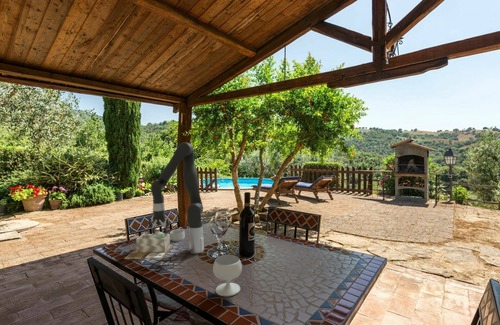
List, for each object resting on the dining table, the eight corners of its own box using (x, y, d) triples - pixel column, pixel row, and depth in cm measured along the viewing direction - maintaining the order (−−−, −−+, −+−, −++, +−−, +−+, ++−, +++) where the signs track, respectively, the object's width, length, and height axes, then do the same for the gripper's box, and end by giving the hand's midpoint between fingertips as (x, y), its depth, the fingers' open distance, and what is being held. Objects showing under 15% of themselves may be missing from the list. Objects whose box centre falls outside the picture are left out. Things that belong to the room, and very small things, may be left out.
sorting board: (174, 247, 179) (174, 233, 178) (162, 261, 156) (161, 244, 155) (140, 247, 180) (140, 233, 179) (123, 261, 157) (122, 245, 156)
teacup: (182, 243, 187) (182, 232, 186) (168, 243, 187) (167, 233, 187) (187, 237, 201) (187, 227, 200) (174, 237, 201) (173, 227, 201)
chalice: (207, 290, 121) (207, 260, 121) (229, 279, 131) (229, 251, 130) (225, 302, 111) (225, 269, 111) (248, 289, 121) (247, 259, 120)
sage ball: (165, 239, 175) (165, 230, 174) (162, 242, 169) (162, 233, 168) (157, 239, 175) (157, 230, 175) (153, 242, 169) (153, 233, 169)
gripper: (171, 208, 174) (171, 231, 175) (150, 208, 175) (151, 231, 176) (167, 210, 167) (167, 234, 168) (146, 210, 168) (146, 235, 168)
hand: (159, 233), depth 172 cm, fingers open, 7 cm apart
